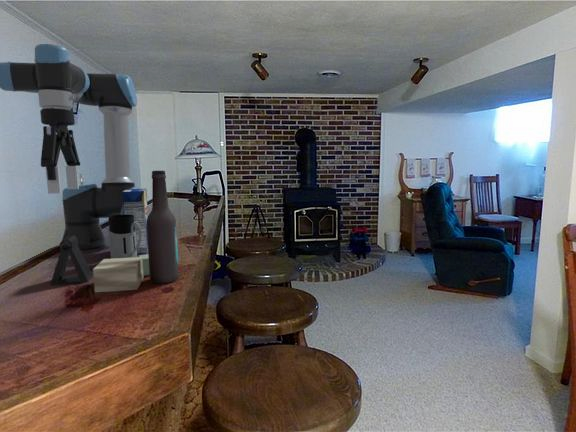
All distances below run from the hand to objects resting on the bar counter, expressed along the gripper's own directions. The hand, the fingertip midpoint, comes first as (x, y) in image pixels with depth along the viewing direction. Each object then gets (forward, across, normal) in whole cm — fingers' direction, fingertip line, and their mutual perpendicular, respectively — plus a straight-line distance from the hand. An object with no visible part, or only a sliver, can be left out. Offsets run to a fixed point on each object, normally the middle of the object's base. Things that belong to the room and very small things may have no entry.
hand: (64, 191), depth 103 cm
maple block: (+25, -7, -14) cm, 29 cm away
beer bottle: (+25, -5, -25) cm, 35 cm away
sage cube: (+25, +3, -20) cm, 32 cm away
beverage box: (+25, +32, -12) cm, 42 cm away
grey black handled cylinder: (+25, +15, -12) cm, 31 cm away
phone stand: (+25, 0, 0) cm, 25 cm away
